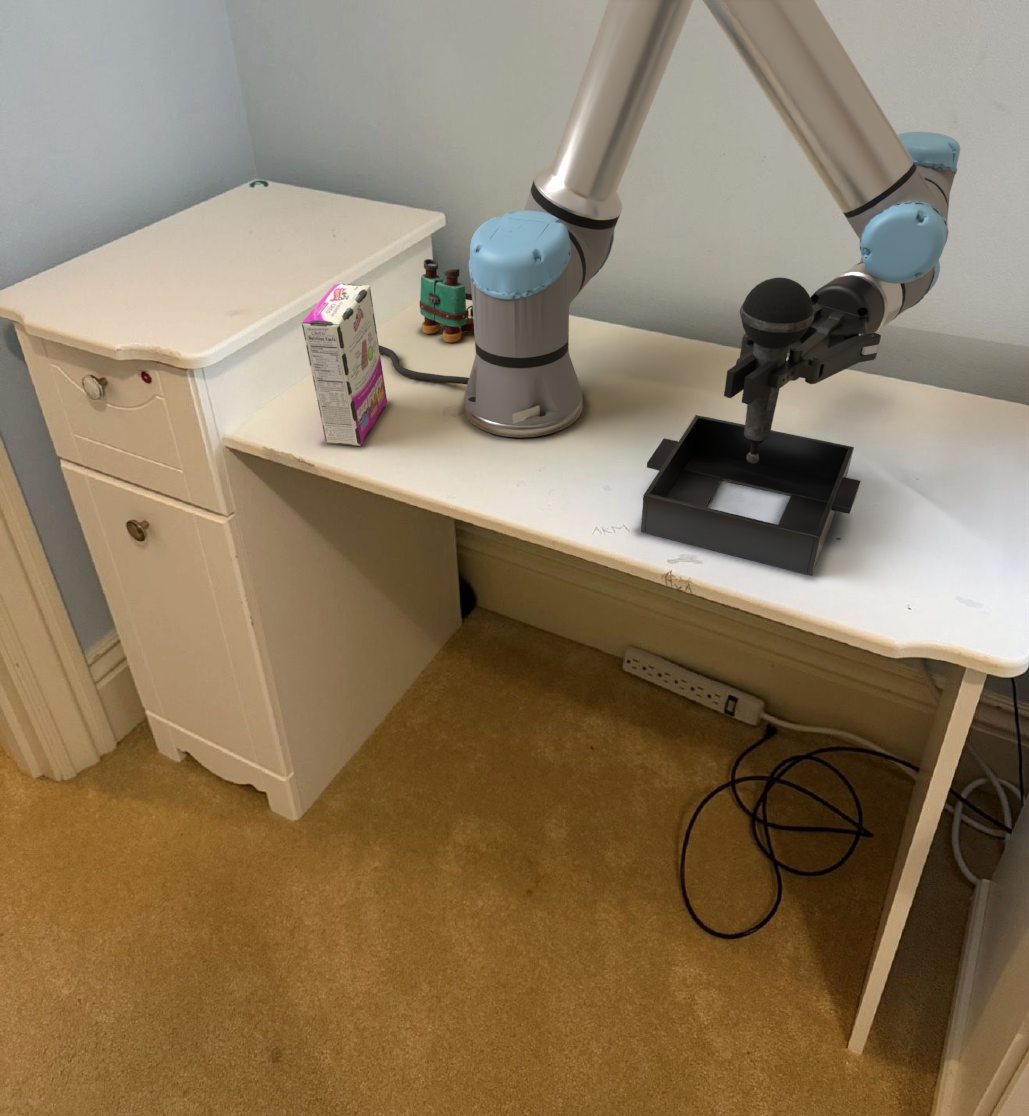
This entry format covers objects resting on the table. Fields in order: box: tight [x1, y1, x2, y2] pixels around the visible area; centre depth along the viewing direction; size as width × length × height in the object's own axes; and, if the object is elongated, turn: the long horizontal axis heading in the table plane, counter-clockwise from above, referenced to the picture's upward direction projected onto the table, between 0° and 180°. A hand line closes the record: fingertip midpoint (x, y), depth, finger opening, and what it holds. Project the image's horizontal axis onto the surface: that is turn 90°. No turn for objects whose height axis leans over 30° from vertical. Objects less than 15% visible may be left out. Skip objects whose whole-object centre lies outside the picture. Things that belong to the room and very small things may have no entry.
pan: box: [640, 414, 862, 576], centre depth 99 cm, size 22×18×5 cm
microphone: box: [739, 277, 814, 464], centre depth 91 cm, size 7×7×20 cm
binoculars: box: [419, 258, 474, 343], centre depth 136 cm, size 9×11×10 cm
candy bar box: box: [300, 283, 388, 447], centre depth 112 cm, size 11×5×16 cm, turn 168°
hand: (738, 387), depth 87 cm, fingers closed on microphone
